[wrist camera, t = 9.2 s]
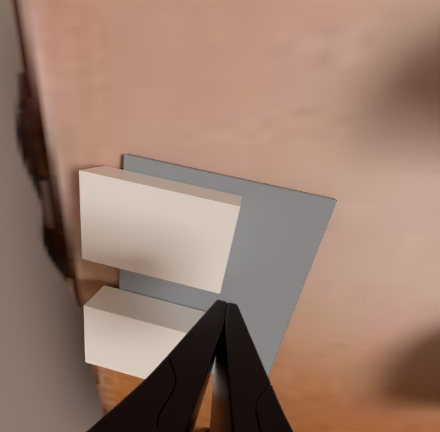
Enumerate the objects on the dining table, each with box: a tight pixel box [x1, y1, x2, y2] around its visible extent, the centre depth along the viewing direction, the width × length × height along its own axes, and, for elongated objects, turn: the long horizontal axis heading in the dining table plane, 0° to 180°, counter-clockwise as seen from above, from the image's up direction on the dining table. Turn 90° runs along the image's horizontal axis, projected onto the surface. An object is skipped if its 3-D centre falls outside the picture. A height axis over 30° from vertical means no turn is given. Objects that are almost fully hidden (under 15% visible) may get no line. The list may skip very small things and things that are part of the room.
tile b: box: [79, 166, 242, 294], centre depth 15 cm, size 6×2×10 cm
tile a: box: [84, 285, 205, 379], centre depth 18 cm, size 6×2×10 cm
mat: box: [119, 154, 337, 376], centre depth 18 cm, size 18×14×1 cm
